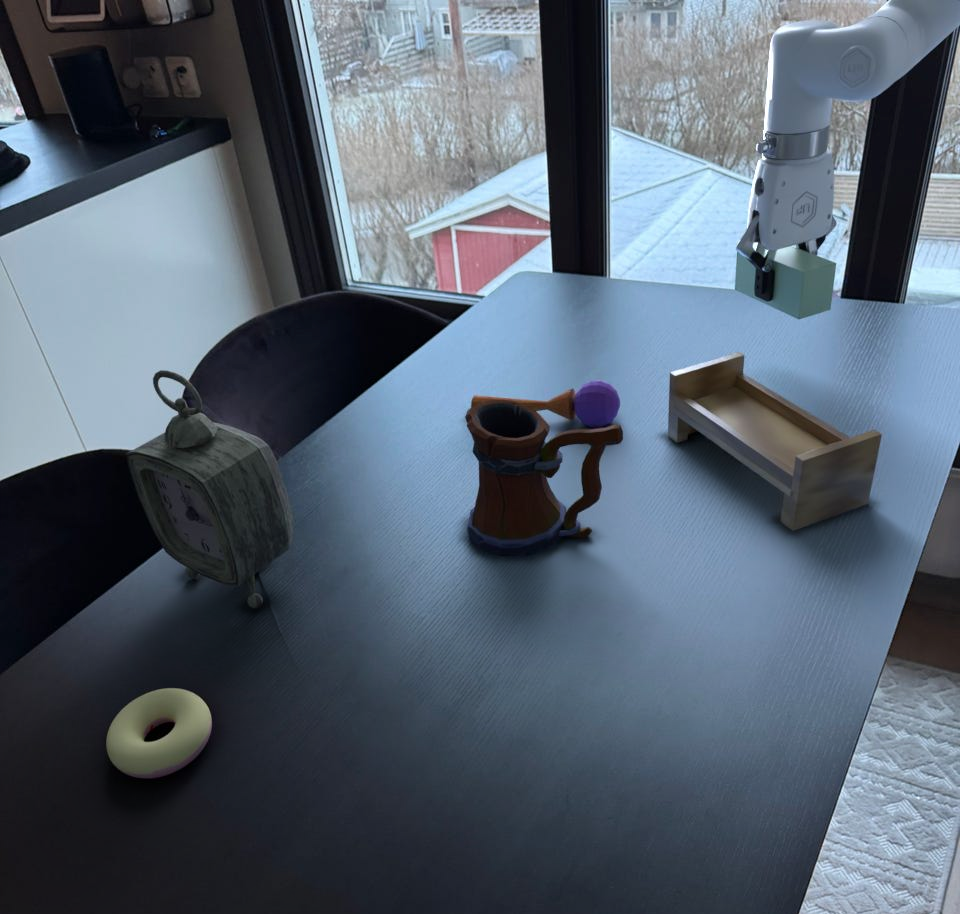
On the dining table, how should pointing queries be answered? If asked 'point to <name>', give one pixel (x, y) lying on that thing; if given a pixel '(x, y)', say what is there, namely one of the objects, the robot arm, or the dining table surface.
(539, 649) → the dining table surface
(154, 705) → the donut
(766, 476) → the rack
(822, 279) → the bar
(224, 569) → the tabletop clock
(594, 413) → the purple ball wooden maraca
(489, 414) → the mug
